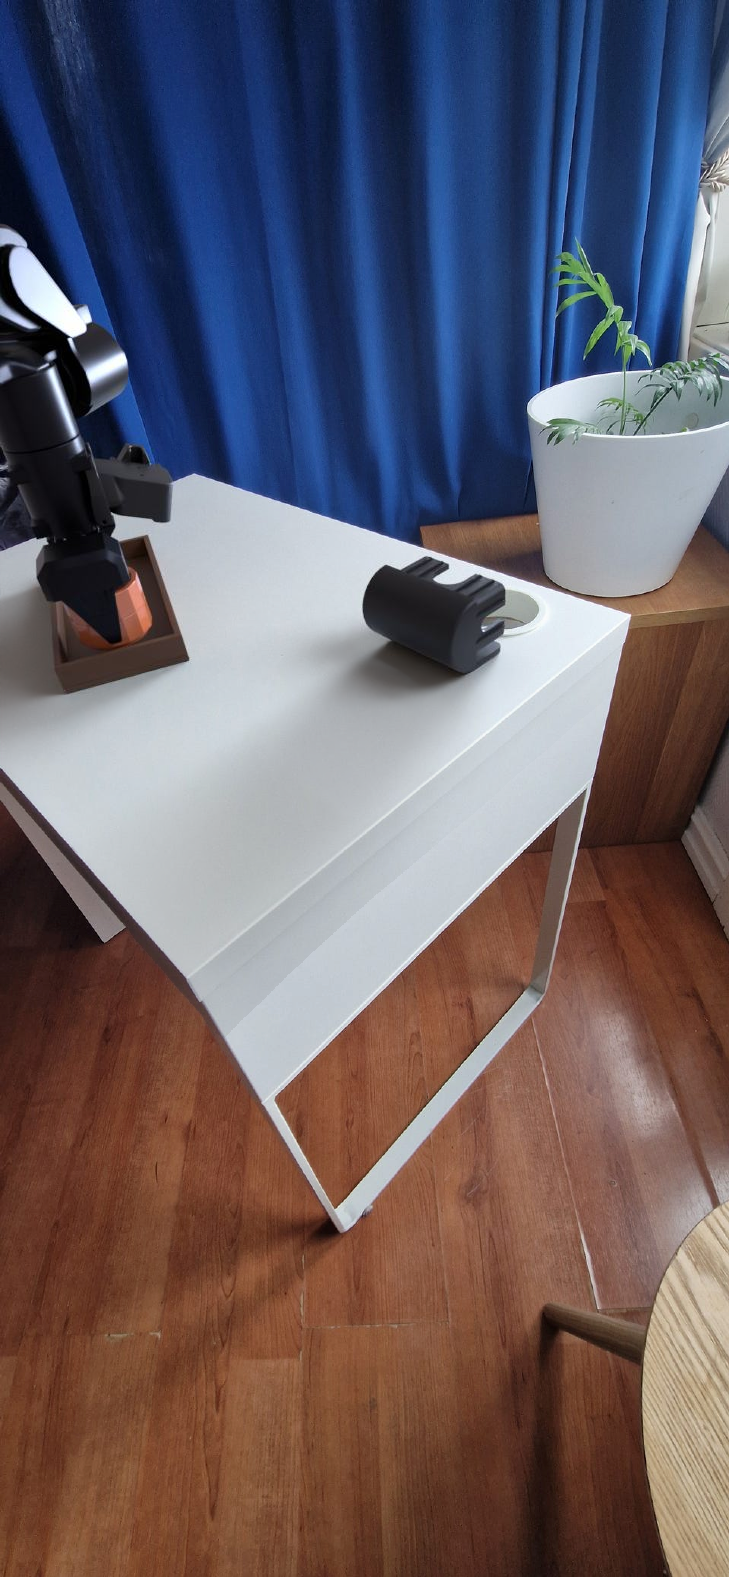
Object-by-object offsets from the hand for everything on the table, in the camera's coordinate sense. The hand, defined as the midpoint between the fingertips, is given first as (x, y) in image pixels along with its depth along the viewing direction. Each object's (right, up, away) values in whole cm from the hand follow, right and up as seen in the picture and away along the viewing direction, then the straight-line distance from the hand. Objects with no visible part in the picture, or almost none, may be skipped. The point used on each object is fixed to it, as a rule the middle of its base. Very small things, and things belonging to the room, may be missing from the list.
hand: (112, 624), depth 63 cm
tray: (-2, +3, +7) cm, 8 cm away
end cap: (+29, -3, -3) cm, 29 cm away
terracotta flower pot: (0, -1, +1) cm, 1 cm away
